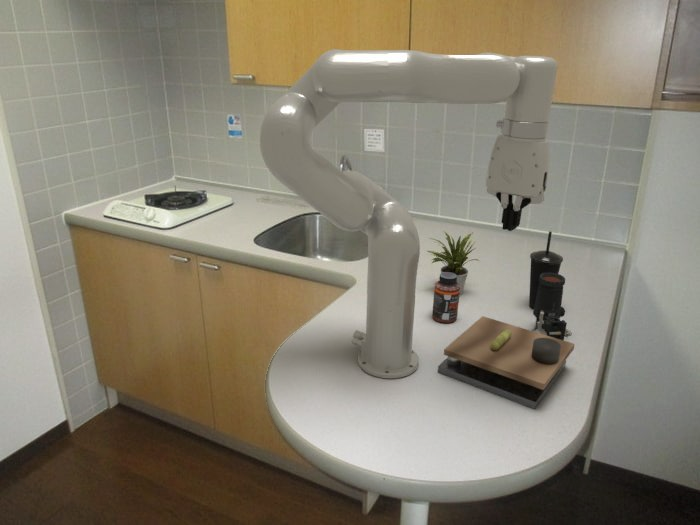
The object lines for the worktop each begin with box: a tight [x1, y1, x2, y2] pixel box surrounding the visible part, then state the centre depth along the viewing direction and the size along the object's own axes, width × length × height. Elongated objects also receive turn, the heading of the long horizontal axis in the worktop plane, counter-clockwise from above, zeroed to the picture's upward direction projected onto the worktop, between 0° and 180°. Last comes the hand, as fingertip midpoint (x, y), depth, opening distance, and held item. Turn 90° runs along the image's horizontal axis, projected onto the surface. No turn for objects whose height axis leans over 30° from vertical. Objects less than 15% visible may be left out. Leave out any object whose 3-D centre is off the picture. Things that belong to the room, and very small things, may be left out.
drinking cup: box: [528, 231, 564, 311], centre depth 141 cm, size 8×8×20 cm
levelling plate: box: [443, 315, 575, 390], centre depth 114 cm, size 20×18×4 cm
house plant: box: [427, 230, 481, 296], centre depth 150 cm, size 14×14×16 cm
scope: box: [533, 273, 573, 341], centre depth 129 cm, size 8×14×10 cm
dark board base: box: [437, 356, 567, 410], centre depth 117 cm, size 20×18×4 cm
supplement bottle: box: [432, 272, 460, 324], centre depth 136 cm, size 6×6×11 cm
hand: (509, 228), depth 108 cm, fingers closed
